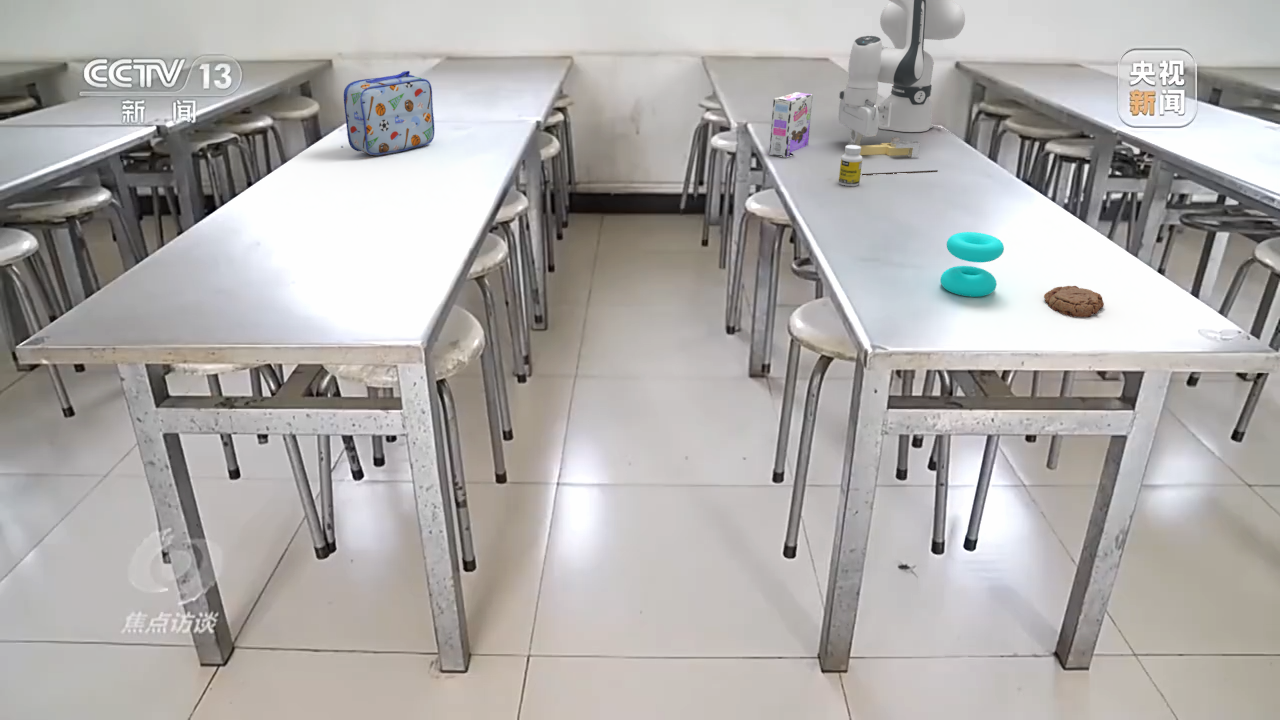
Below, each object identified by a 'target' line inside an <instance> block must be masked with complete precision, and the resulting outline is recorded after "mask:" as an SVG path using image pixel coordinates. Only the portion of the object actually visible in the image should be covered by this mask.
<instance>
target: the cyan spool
mask: <svg viewBox="0 0 1280 720" xmlns="http://www.w3.org/2000/svg"><path fill="white" fill-rule="evenodd" d="M946 248H947V251H948V252H949V253H950V254H951V255H952V256H953V257H955V258H956V259H959V260H961V261H966V262H970V263H990V262H993V261H995V260H996V259H998V258H1000V257H1001V256H1002V255H1003V254H1004V250H1005V246H1004V243H1003V242H1002V241H1001V240H1000V239H999V238H998V237H996V236H993V235H991V234H987V233H981V232H975V231H963V232H958V233H954V234H953V235H951V236H949V238H948V239H947V241H946ZM940 284H941V285H942V287H943V288H944V290H946V291H948V292H950V293H952V294H955V295H958V296H964V297H972V298H977V297H978V298H979V297H986V296H988V295H990V294H992V293H993V292H994V291H995V290H996V288H997V280H996V278H995V276H994V275H993V274H992V273H991V272H989V271H987V270H986V269H984V268H980V267H977V266H972V265H957V266H952V267H950V268H948V269H947V268H946V270H945V271H943V272H942V274H941V276H940Z"/></svg>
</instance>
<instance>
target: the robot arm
mask: <svg viewBox="0 0 1280 720" xmlns="http://www.w3.org/2000/svg"><path fill="white" fill-rule="evenodd" d="M888 1H889V2H888V4H886V5H885V7H884V8H883V9H882V10H881V11H882V12H881V14H880V17H879V24H880V28H881V31H882V32H883V33H884V34H885V35H886V36H887V37H888V39H889V40H890V41H891V43H892V45H893V46H894V47H888V46H884V45H882V39H881V38H880V37H878V36H876V35H866V36H860V37H858V38H856V39H854V41H853V43H852V46H851V50H850V54H849V60H848V67H847V68H848V69H847V72H848V79H847V82H846V86H845V89H842V90H840V91H839V93H838V94H839V95H838V99H840V100H839V103H838V116H837V117H838V122H839V124H841V125H844V127H847V128H849V135H850V143H856V145H857V146H861V143H862V139H863V138H864V137H866V138H868V137H876V136H877V134H878V132H879V129H880V130H887V131H896V132H904V133H921V132H926V131H929V130H931V128H934V124H933V123H932V114H933V113H932V110H933V102H932V100H931V99H930V97H931V93H932V83H931V82H932V77H933V76H932V75H933V70H934V64H935V62H934V59H933V57H932V55H931V54H930V53H929V52H928V51H925V50H924V45H925V40H931V41H932V40H934V41H935V40H936V41H943V40H944V41H945V40H950V39H955V38H956V37H958V36H959V34H960V33H961V32H962V31H963V30H964V26H965V22H966V14H965V11H964V9H963V7H962V6H961V5H960V4H958V3H957V2H956V1H955V0H888ZM879 83H882V84H891V85H892V86H891V90H890V95H888V97H886V98H885V99H884V100H883V101H882V102H880V104H879V105H878V107H876V104H877V99H878V91H879Z"/></svg>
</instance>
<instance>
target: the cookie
mask: <svg viewBox="0 0 1280 720" xmlns="http://www.w3.org/2000/svg"><path fill="white" fill-rule="evenodd" d="M1043 298H1044V301H1045V303H1047V304H1048V307H1049V308H1051V310H1052V311H1055V312H1058V313H1059V314H1062V315H1064V316H1068V317H1069V316H1070V317H1072V318H1088V317H1091V316H1093V315H1096V314H1098V312H1100V311H1099V310H1100V309H1102V308H1104V306H1105V302H1104V301H1103V296H1102V295H1101V294H1100V293H1097V292H1095V291H1093V290H1091V289H1088V288H1082V287H1079V286H1076V285H1066V286H1057V287H1054V288H1052V289H1050V290H1048V291H1046V292H1045V293H1044V294H1043Z"/></svg>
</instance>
